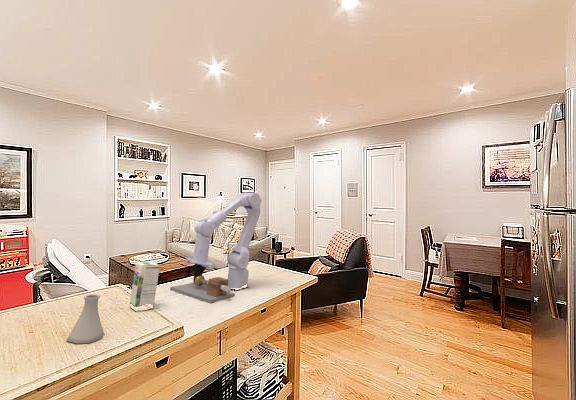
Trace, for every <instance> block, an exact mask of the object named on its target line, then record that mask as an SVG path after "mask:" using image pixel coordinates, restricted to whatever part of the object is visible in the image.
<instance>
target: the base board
mask: <svg viewBox="0 0 576 400" xmlns="http://www.w3.org/2000/svg"><path fill="white" fill-rule="evenodd" d="M207 287H208V286H207V285H202V286H200V287H199V286H196V285H195V283H194V282H190V283H185V284H179V285H174V286H170V289H169V290H170V291H172V292H175V293H177V294H181V295H184V296H187V297H190V298H193V299H195V300H198V301H201V302H204V303H208V304H212V303H216V302H217V303H218V302H220V301H223V300H227V299H231V298H233V297H234V296H236V293H234V292H231V291H230V292H227V295H224V296H220V297H213V296H210V295H207Z"/></svg>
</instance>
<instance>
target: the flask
mask: <svg viewBox="0 0 576 400" xmlns="http://www.w3.org/2000/svg"><path fill="white" fill-rule="evenodd" d="M100 297H101V294H96V293H95V294H94V293H93V294H91V293H90V294H86V295H85V296H84V297H83V299H84V304H83V308H82V310H81V313H80V314H79V317H78V319H77V321H76V323H75V325H74V326H73V328H72V330H71V331H70V333H69V335H68V337H67V339H66V342H68V343H69V342H70V343H73V344H91V343H93V342H96V341H98V340H101V339H102V338H103V336H104V334H105V331H104V329H103V325H102V321H101V317H100V314H99V305H98V303H99V299H100Z"/></svg>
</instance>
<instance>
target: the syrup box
mask: <svg viewBox="0 0 576 400" xmlns="http://www.w3.org/2000/svg"><path fill="white" fill-rule="evenodd" d="M160 266H161V264H158V263H156V262H154V261H147V260H146V261H137V262H135V268H134V269H135V270H134V276H133V281H132V287H131V291H130V292H131V293H130V298H129V299H130V300H129V305H130V304H132V305H133V306H134V307H140V306H142V305H145V304H151V305H153V306H154V305H155V300H156V295H157V293H156V292H157V287H158V281H159V280H158V279H159V273H160V268H161V267H160ZM154 307H155V306H154Z"/></svg>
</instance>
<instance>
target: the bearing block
mask: <svg viewBox="0 0 576 400" xmlns="http://www.w3.org/2000/svg"><path fill="white" fill-rule="evenodd" d="M207 280H208V287H207V295H210V296H213V297H220V296H224V295H227V291H223V290H220V286H221V284H222V285H226V286H228V280H229V279H228V278H224V277H221V276H217V277H211V278H208V279H207Z"/></svg>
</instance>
